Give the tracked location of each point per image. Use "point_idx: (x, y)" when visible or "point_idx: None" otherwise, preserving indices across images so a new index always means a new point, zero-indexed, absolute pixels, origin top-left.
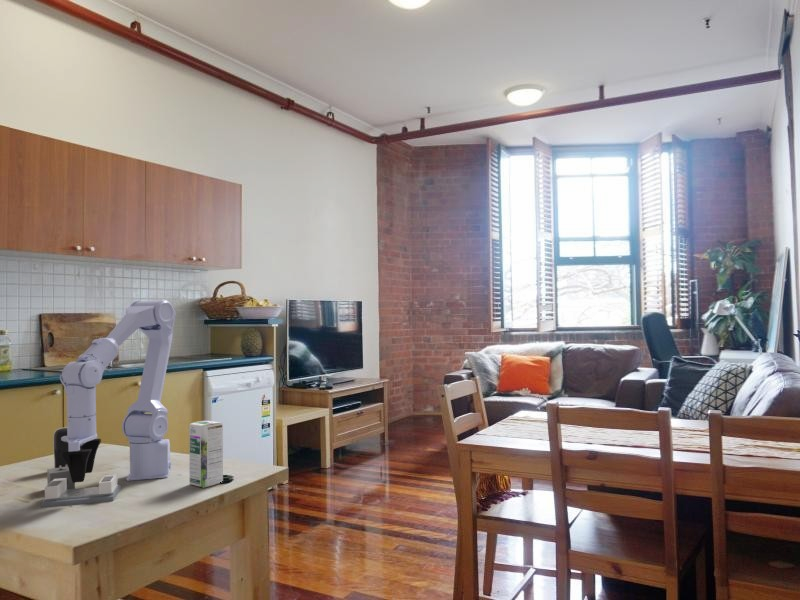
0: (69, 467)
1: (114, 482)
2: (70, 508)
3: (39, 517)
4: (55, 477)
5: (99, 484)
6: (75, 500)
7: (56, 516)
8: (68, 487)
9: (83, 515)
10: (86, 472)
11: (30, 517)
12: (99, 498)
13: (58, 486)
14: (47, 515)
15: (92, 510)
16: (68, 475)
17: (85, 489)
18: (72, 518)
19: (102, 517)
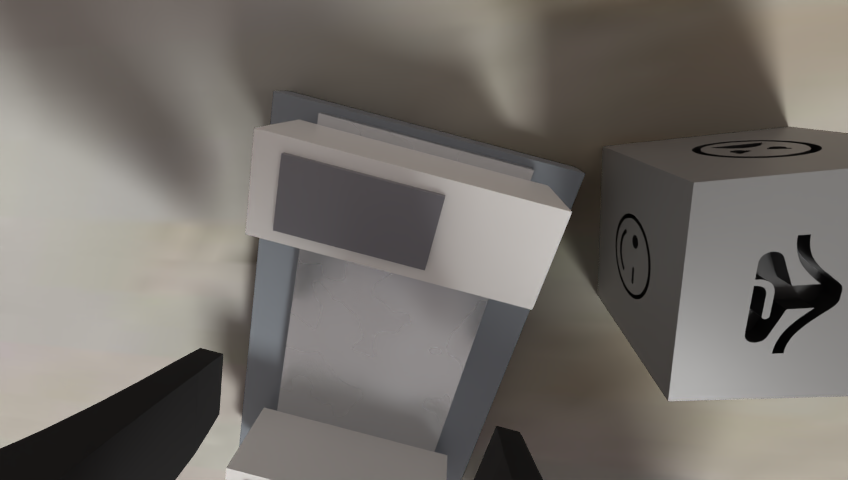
0: (23, 445)
1: None
2: (209, 252)
3: (86, 89)
4: (661, 222)
5: (233, 459)
6: (256, 291)
7: (79, 181)
8: (611, 274)
9: (61, 299)
10: (485, 459)
11: (101, 32)
12: (245, 394)
13: (269, 237)
14: (113, 134)
15: (132, 339)
16: (649, 325)
17: (421, 362)
18: (24, 252)
19: (11, 362)
